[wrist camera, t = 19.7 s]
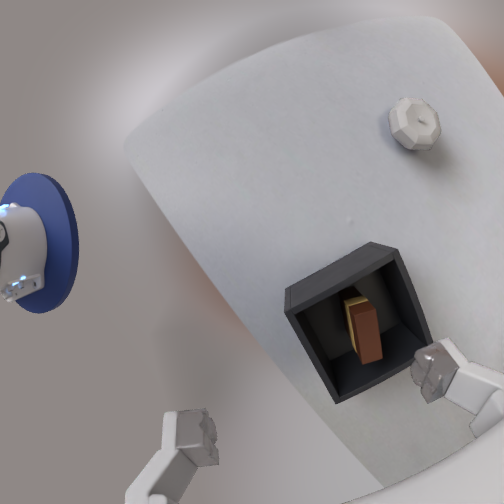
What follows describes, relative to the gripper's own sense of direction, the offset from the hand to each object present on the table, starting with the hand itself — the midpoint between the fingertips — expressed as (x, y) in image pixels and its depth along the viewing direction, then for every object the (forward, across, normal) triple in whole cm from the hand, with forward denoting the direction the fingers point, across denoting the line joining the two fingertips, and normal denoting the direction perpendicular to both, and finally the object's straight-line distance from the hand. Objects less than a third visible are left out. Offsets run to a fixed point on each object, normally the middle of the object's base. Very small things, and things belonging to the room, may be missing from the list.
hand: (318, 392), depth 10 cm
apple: (+31, -25, -4) cm, 40 cm away
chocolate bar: (+24, -11, +18) cm, 32 cm away
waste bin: (+24, -12, +18) cm, 32 cm away
